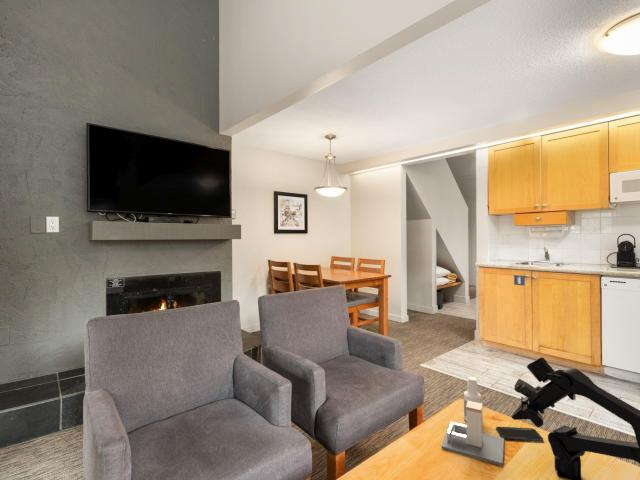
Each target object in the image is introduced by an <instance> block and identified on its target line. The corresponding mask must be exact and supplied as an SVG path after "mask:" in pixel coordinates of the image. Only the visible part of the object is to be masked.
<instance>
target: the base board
mask: <svg viewBox="0 0 640 480" xmlns="http://www.w3.org/2000/svg"><path fill="white" fill-rule="evenodd" d="M449 426H450V424H448V427H447V429H446V433H445V436H444V438H443V441H442V444H441V449H442V450H444V451H448V452H453V453H455V454H458V455H463V456H466V457H469V458H473V459H477V460H480V461H483V462H486V463H490V464H494V465H498V466H500V467H503V466H504V448H505V440H504V438H501V437H500V436H496V435H492V434H488V433H485V432H483V441H482V447H477V446H473V445H470V444H467V445H466V447H465V446H461V445H457V444H454V443H452V438H451V441H450V442H447V432H448V429H449ZM453 432H455V425H454V431H453Z"/></svg>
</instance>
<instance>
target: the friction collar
mask: <svg viewBox="0 0 640 480" xmlns="http://www.w3.org/2000/svg"><path fill="white" fill-rule="evenodd" d="M449 425H450V426H449ZM449 425H448V426H449V429H448V428H447V429H448V432H447V431H446V432H447V442H450V441H451V438H452V443H454V444H457V445H461V446H465V447H466V445H467V424H463V423H460V422H459V423H458V422H454V421H450V424H449ZM454 426H455V432H453V431H454Z"/></svg>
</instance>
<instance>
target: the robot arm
mask: <svg viewBox="0 0 640 480" xmlns="http://www.w3.org/2000/svg"><path fill="white" fill-rule="evenodd" d="M526 369H528V371H529V373H531V374H532V376H533V377H534V378H535V379H536V380H537V381H538V382H539V383H543V384H545V383H546V384H545V385H543V386H539V385H538V386H536V387H534V386H533V385H532V384H529V382H526V381H524V380H523V379H521V378H518V379H517V381H516V382H515V384H514V388H513V389H514V391H515V392H516V393H517V394H518V393H519V394H521V395H522V396H521V398H520V405H519V406H518V407H517V409H516V410H515V411H514V412H513V414H512V415H511V418H512V419H513V420H514V421H515V420H530V422H531V423H532V424H533V425H534V426H536V428H540V427H542V426H543V425H544V418H543V417H544V416H543V415H544V414H545V410H547V409H549V408H550V407H551V409H552V408H555V407H556V405H555V404H557V403H558V402H560V401H561V400H563V399H564V398H566V397H568V398H569V399H570V400H571V401H576V400H577V399H576V395H577V396H580V397H583V398H586V399H589V400H590V401H592V402H594V404H596V405H598V406H600V407H602V408H603V409H604V410H606V411H608V412H610V413H611V414H613V415H615V416H616V417H618V418H619V419H621V420H623V421H624V422H626V423H628V424H629V425H630V426H631V428H632V430H633V432H634V436H635V440H636V441H635V442H634V441H633V442H631V441H627V440H619V439H612V438H606V437H605V438H604V437H599V436H591V435H585V434H582V433H580V432H578V429H577V427H575V426H568V425H565V424H564V425H563V426H559V427H557V428H556V429H554V430H553V431H551V432H549V433H548V435H547V441H548V442H549V445H550V447H551V451H552V453H553V456H554V465H553V466H554V470H555V472H556V476H558V478H562V479H565V480H583V479H582V460H581V457H583V456H584V455H585V453H586V452H588V453H594V454H599V455H604V456H610V457H614V458H615V457H616V458H621V459H625V460H630V461H631V460H632V461H634V462H636V463H637V464H640V410H639V409H638V408H637V407H635V406H633V405H631V404H629V402H628V403H627V402H626V401H624V400H622V399H621V398H619V397H617V396H615V395H614V394H612V393H611V392H608V391H606V390H605V389H603V388H602V387H599V386H598V385H597V384H595V383H594V381H592V379H591V378H590V377H589V376H588V375H586V374H585V373H583V372H582V371H580V370H579V369H577V368H569V369H557V370H554V368H553V367H552V366H551V365H550V364H549V363H548V362H547V360H546V359H545V358H544V357H539V358H537V359H536V360H534V361H532V362H530V363H529V364H527V366H526ZM523 396H524V397H523Z"/></svg>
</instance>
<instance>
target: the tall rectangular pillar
mask: <svg viewBox="0 0 640 480" xmlns="http://www.w3.org/2000/svg"><path fill="white" fill-rule="evenodd" d="M483 407H484V405H483V403H482V402H481V403H476V402H472V401H468V402H467V405H466V418H467V421H466V425H467V444H470V445H473V446H477V447H482V441H483V433H484V432H483V409H484V408H483Z"/></svg>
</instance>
